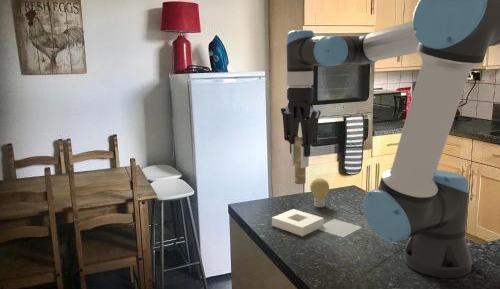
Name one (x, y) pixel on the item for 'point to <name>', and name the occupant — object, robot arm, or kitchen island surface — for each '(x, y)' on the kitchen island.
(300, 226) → the hole block
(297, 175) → the dowel
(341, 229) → the mat
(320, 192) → the light bulb
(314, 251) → the kitchen island surface
